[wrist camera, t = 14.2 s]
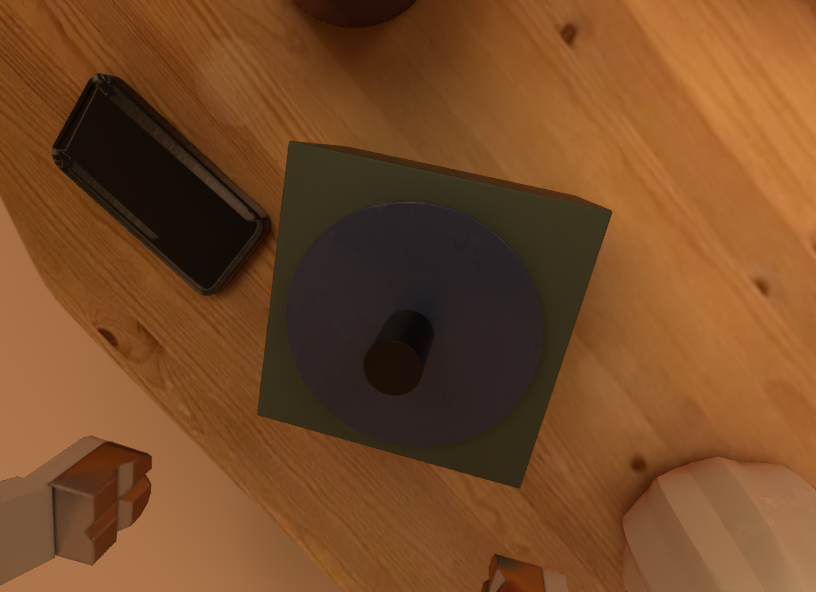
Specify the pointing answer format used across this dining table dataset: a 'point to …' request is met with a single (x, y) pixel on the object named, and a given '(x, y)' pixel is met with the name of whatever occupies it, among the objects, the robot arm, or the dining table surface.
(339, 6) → the pot
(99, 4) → the dining table surface
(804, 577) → the vase
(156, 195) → the phone
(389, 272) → the lid
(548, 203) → the green open box
